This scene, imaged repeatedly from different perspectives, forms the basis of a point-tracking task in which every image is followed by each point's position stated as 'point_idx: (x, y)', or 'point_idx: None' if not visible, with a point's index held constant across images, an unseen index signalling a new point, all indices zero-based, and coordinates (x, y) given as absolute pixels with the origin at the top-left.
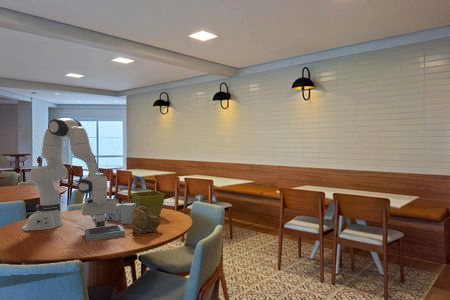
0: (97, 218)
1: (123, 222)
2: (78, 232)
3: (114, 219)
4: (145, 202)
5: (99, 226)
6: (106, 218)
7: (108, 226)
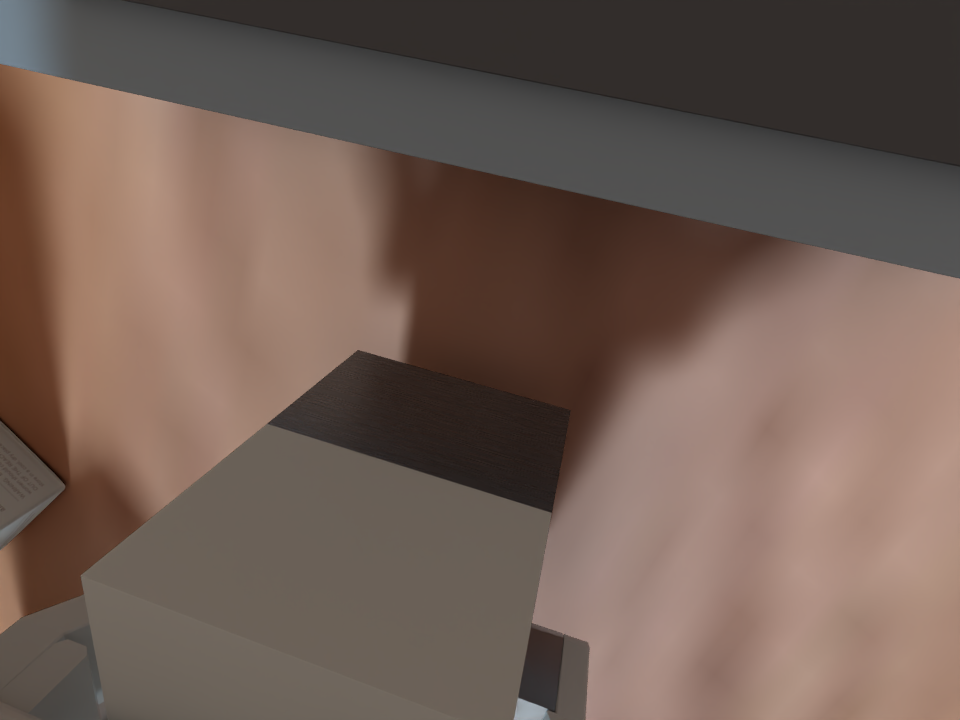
0: (484, 593)
1: (14, 470)
2: (931, 554)
3: None
4: None
5: (488, 393)
6: None
7: (296, 5)
